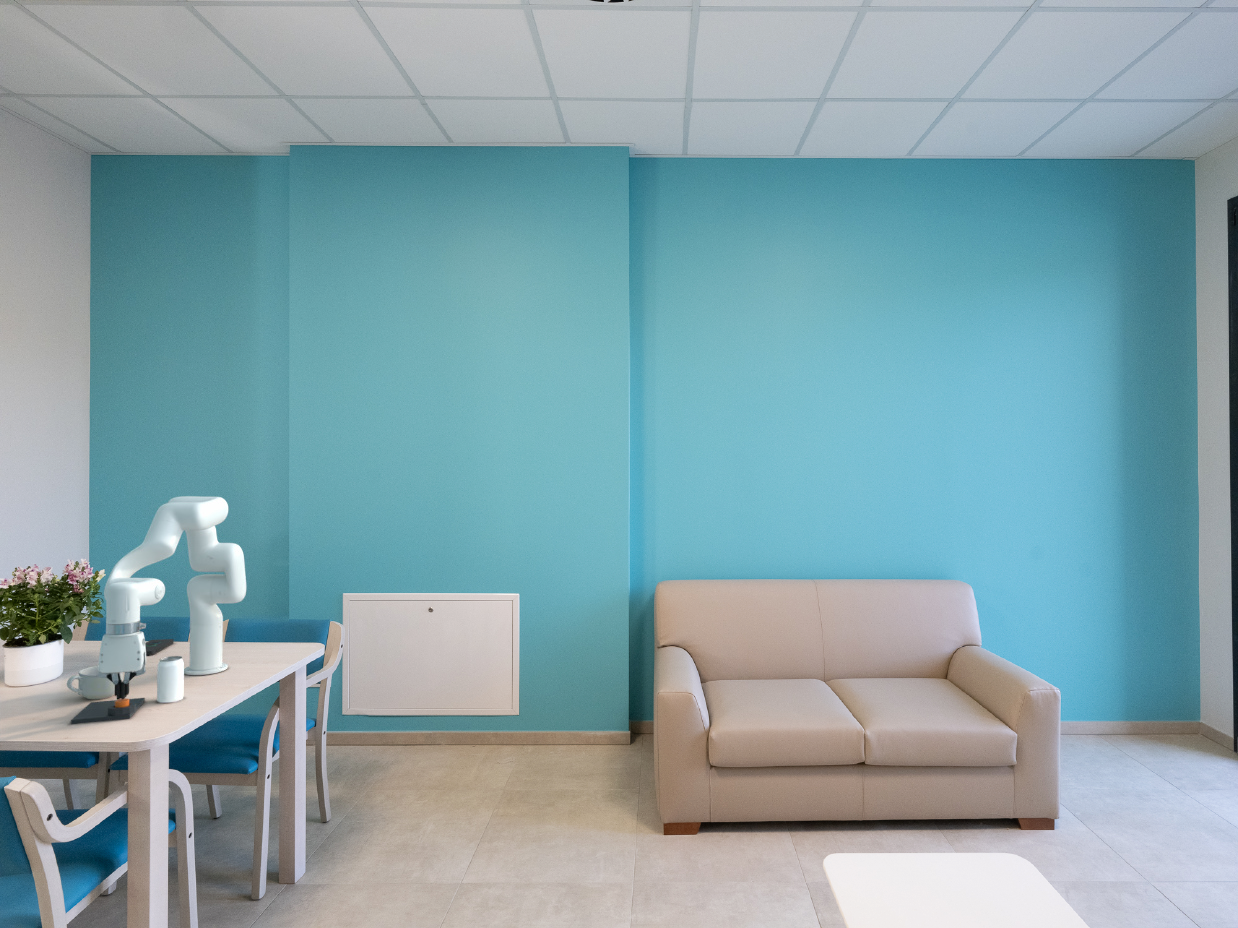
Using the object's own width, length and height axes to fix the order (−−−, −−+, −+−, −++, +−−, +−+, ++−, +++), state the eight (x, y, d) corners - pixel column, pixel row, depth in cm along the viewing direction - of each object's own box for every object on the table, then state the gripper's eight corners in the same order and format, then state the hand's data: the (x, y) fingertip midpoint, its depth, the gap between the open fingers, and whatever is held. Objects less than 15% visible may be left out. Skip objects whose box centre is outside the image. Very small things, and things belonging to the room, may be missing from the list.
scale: (90, 706, 207) (90, 695, 207) (147, 701, 212) (147, 690, 212) (71, 724, 192) (71, 712, 192) (132, 718, 197) (132, 707, 197)
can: (151, 702, 211) (152, 660, 211) (171, 696, 217) (171, 654, 217) (169, 704, 209) (169, 661, 209) (188, 698, 215) (189, 656, 215)
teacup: (115, 689, 224) (116, 662, 224) (128, 695, 217) (129, 668, 217) (59, 699, 213) (60, 671, 213) (71, 707, 206) (71, 678, 206)
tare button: (116, 705, 200) (116, 698, 200) (130, 704, 201) (130, 697, 201) (113, 709, 197) (113, 702, 197) (127, 707, 198) (127, 701, 198)
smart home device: (174, 638, 285) (152, 650, 266) (174, 642, 285) (152, 655, 266) (150, 639, 284) (127, 651, 264) (150, 643, 284) (127, 656, 264)
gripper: (158, 624, 205) (157, 691, 205) (94, 628, 200) (93, 696, 199) (152, 629, 198) (150, 698, 198) (85, 633, 193) (83, 704, 192)
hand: (121, 697), depth 199 cm, fingers closed
